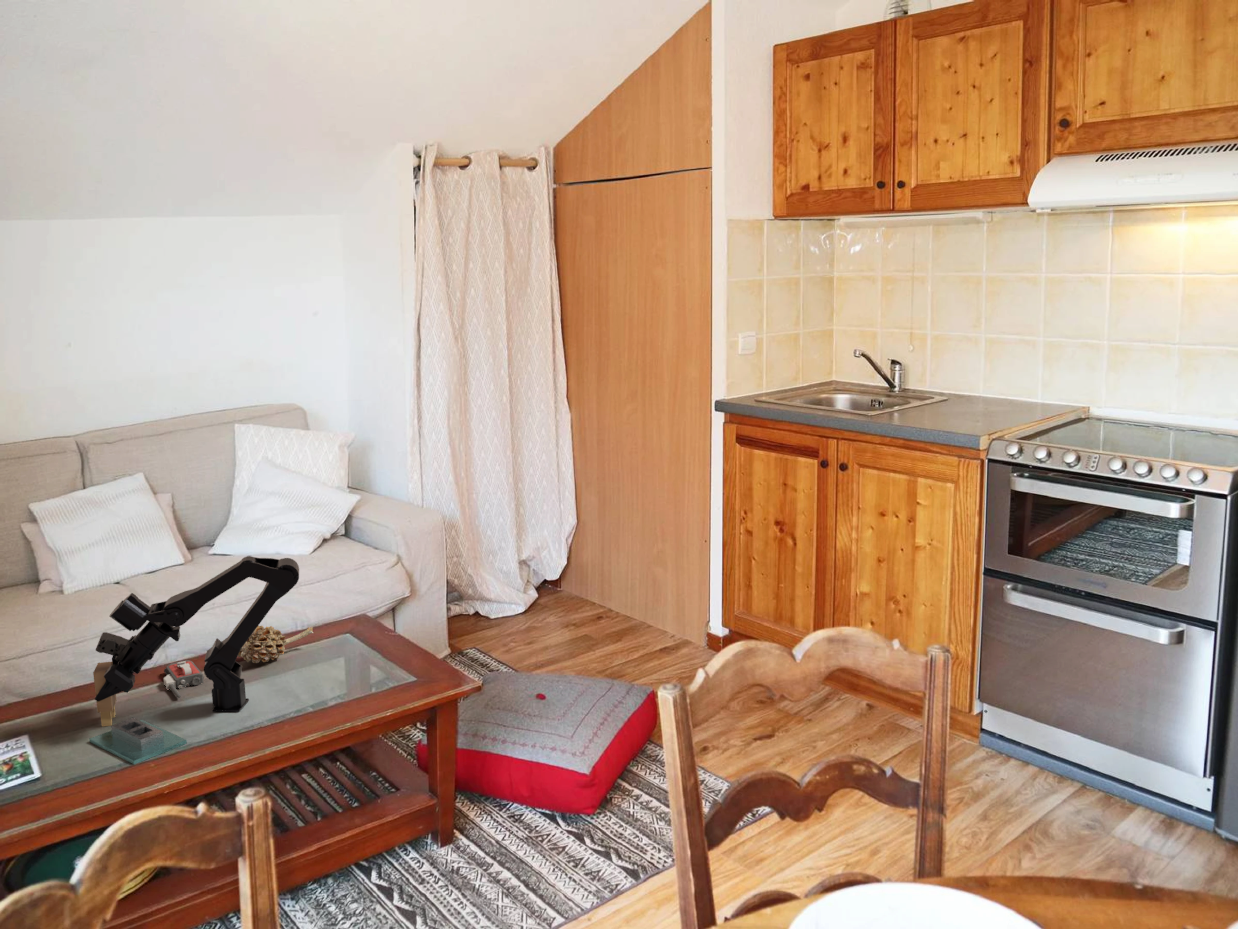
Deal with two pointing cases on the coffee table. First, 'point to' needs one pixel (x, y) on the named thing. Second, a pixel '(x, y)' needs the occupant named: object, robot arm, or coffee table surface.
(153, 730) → the teal holder base
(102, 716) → the tan cardboard brick
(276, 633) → the dried banksia seed pod
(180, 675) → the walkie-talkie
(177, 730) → the coffee table surface
